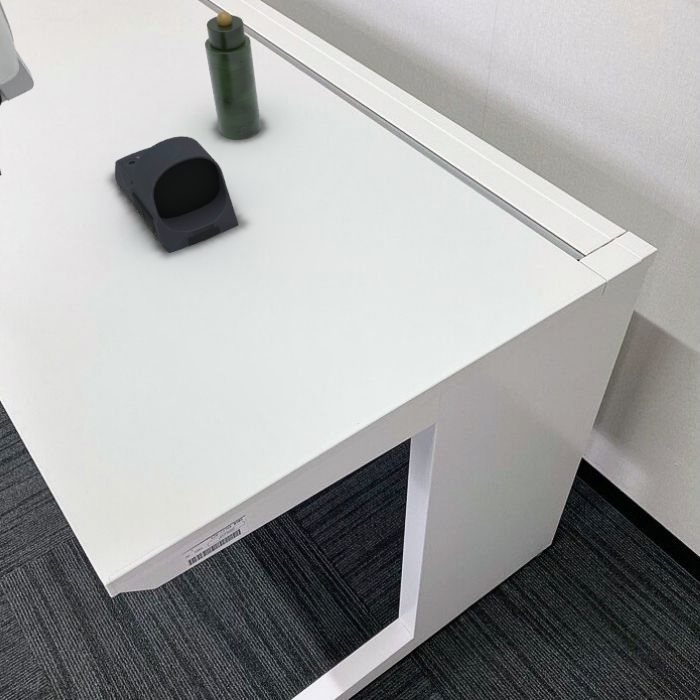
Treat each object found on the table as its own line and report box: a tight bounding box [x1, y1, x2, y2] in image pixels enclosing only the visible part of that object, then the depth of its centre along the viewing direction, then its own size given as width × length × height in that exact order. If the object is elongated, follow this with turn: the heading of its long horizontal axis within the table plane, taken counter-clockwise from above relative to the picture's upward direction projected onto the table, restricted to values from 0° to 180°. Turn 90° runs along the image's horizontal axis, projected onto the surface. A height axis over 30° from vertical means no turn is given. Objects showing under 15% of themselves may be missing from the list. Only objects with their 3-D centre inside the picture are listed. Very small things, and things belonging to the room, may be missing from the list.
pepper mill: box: [204, 11, 262, 140], centre depth 97 cm, size 6×6×16 cm
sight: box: [114, 135, 239, 254], centre depth 89 cm, size 9×18×10 cm, turn 33°
